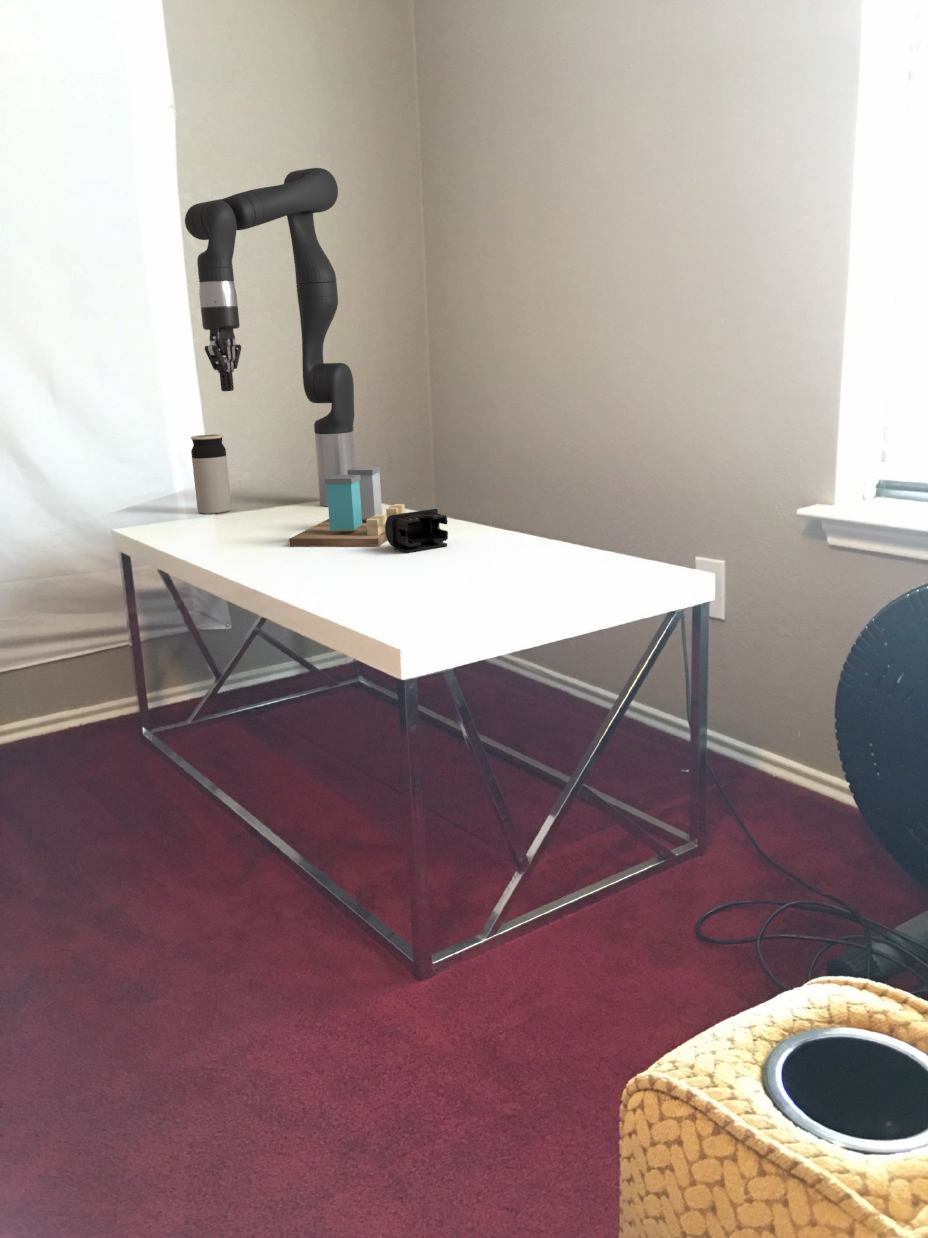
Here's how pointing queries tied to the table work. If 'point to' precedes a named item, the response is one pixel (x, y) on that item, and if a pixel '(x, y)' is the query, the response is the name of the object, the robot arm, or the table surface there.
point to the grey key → (369, 490)
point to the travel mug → (211, 474)
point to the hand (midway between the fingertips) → (227, 390)
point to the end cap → (416, 531)
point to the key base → (348, 532)
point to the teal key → (344, 502)
